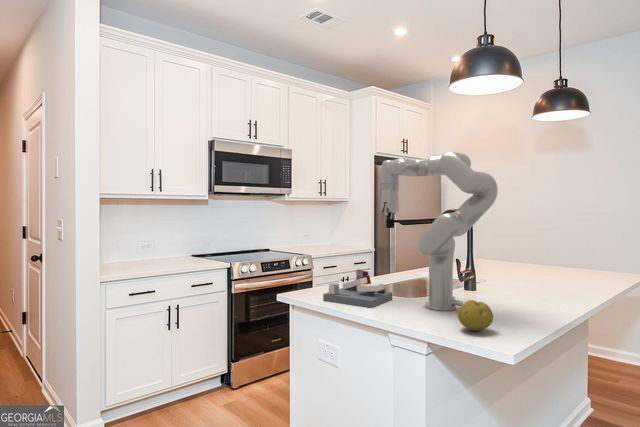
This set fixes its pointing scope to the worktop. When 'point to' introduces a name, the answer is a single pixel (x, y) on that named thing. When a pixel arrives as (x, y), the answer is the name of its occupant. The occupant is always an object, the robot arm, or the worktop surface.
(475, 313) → the fruit
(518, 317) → the worktop surface
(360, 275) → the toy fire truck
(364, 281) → the rocker
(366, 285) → the rocker
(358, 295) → the panel
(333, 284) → the slider
